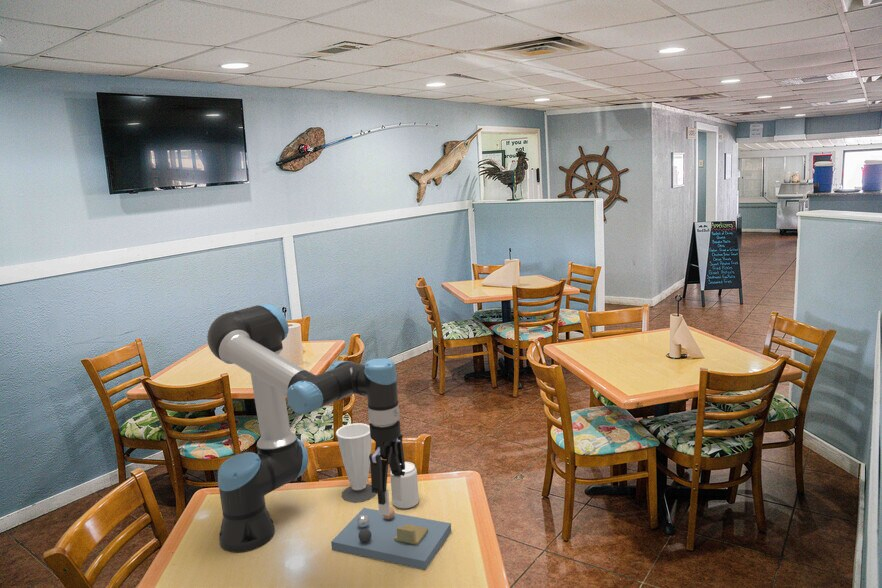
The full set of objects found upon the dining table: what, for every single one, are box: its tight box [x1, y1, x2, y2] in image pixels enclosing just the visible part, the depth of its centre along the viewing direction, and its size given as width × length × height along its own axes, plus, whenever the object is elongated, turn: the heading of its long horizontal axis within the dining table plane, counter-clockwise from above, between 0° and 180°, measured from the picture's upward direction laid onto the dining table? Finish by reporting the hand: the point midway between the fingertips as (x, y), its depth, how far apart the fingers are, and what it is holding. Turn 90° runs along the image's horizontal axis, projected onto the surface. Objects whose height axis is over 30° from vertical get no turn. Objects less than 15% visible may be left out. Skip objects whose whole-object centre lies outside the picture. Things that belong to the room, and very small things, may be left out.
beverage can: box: [389, 461, 420, 509], centre depth 188 cm, size 8×8×12 cm
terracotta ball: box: [383, 506, 396, 519], centre depth 176 cm, size 4×4×4 cm
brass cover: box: [394, 524, 428, 545], centre depth 167 cm, size 7×7×4 cm
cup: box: [335, 422, 377, 504], centre depth 194 cm, size 12×12×22 cm
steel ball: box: [357, 515, 369, 528], centre depth 173 cm, size 4×4×4 cm
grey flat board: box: [331, 507, 452, 571], centre depth 170 cm, size 28×18×2 cm, turn 68°
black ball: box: [358, 529, 371, 542], centre depth 166 cm, size 4×4×4 cm
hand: (391, 506), depth 155 cm, fingers open, 6 cm apart
